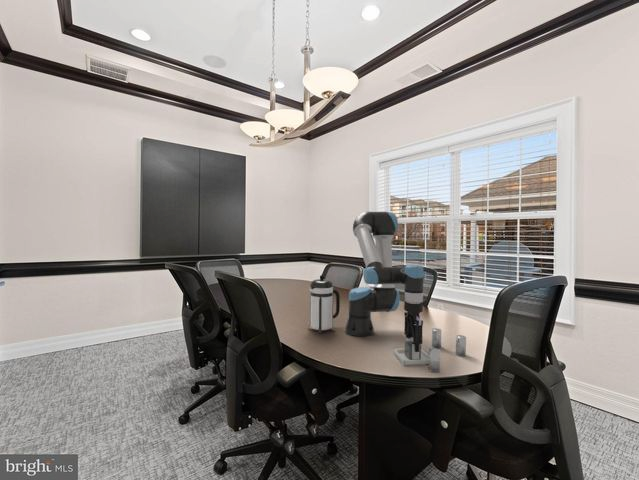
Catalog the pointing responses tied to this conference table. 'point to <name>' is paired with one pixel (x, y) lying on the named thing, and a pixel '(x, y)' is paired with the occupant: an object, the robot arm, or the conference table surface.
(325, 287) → the coffee press
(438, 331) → the cylinder
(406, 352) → the slate cube
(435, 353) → the cylinder
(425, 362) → the tray
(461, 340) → the cylinder
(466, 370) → the conference table surface
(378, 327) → the conference table surface
